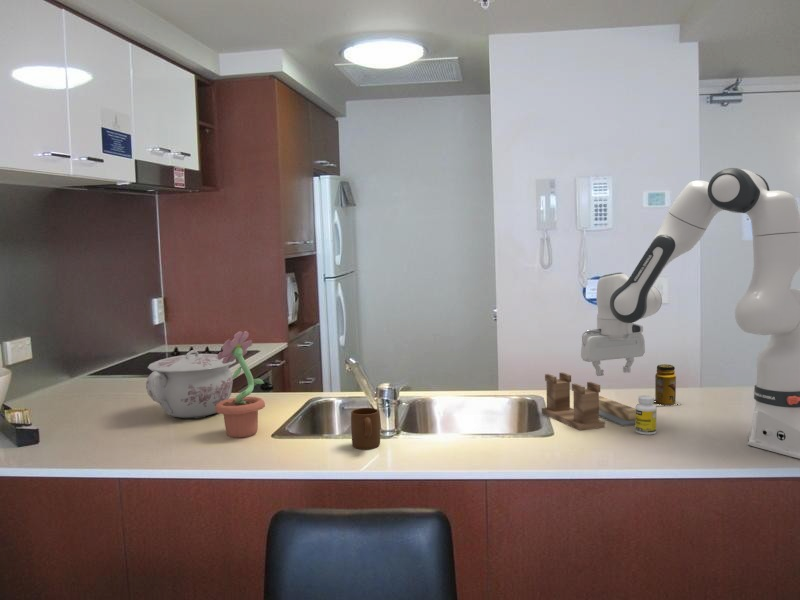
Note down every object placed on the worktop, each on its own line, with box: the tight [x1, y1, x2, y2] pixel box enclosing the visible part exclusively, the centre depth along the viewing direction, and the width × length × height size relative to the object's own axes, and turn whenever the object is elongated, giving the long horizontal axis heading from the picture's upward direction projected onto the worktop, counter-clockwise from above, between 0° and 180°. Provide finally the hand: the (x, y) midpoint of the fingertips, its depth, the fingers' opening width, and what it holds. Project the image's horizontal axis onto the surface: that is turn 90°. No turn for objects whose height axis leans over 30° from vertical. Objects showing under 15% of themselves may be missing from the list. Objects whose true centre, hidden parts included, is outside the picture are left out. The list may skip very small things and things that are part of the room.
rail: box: [599, 395, 636, 421], centre depth 214 cm, size 20×3×3 cm, turn 19°
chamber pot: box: [145, 349, 237, 420], centre depth 230 cm, size 28×28×21 cm
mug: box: [350, 407, 381, 450], centre depth 188 cm, size 12×8×9 cm, turn 9°
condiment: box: [653, 364, 682, 407], centre depth 225 cm, size 7×8×12 cm
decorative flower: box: [215, 330, 266, 439], centre depth 204 cm, size 15×14×30 cm
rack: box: [541, 371, 606, 431], centre depth 209 cm, size 21×8×12 cm, turn 18°
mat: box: [599, 409, 636, 427], centre depth 214 cm, size 24×10×1 cm, turn 18°
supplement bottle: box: [634, 395, 657, 436], centre depth 195 cm, size 5×5×10 cm
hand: (613, 374), depth 212 cm, fingers open, 8 cm apart
